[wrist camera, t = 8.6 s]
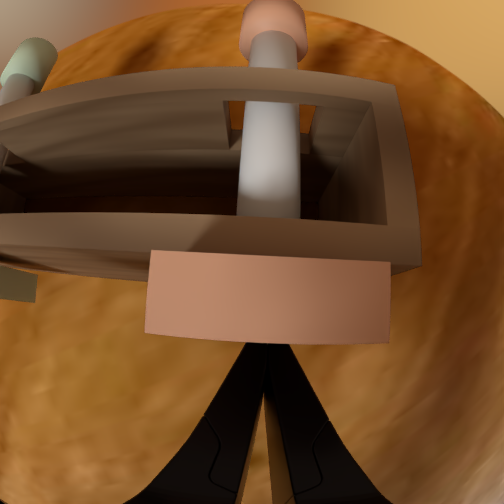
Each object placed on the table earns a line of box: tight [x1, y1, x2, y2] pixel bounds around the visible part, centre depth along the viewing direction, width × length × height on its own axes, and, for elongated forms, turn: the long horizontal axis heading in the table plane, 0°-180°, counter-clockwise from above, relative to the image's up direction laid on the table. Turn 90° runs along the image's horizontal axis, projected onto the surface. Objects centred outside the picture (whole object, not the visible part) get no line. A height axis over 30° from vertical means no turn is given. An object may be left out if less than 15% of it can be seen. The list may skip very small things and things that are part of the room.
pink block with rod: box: [145, 0, 391, 344], centre depth 10 cm, size 14×4×8 cm, turn 177°
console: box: [0, 67, 422, 282], centre depth 12 cm, size 6×22×9 cm, turn 87°
